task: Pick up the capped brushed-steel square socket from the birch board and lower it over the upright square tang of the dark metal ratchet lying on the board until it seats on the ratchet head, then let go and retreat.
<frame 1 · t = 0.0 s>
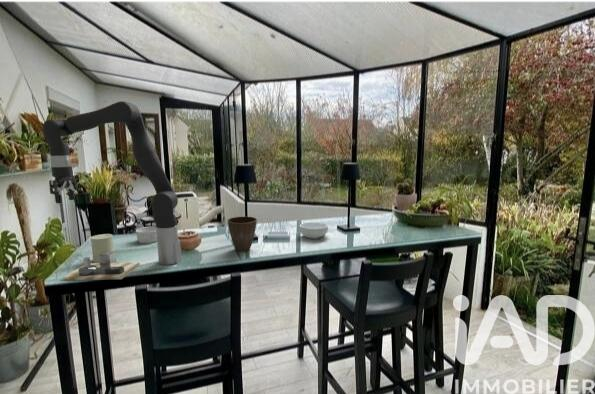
hand: (65, 201, 149), 29 cm above the table, fingers open, 8 cm apart
cereal bowl: (313, 237, 192), on the table
ratchet: (88, 273, 137), resting on board
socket: (108, 266, 145), point 1 cm above the table, touching board
ramekin: (149, 241, 188), on the table
board: (103, 272, 142), on the table
can: (104, 260, 157), on the table
plant pot: (243, 249, 170), on the table
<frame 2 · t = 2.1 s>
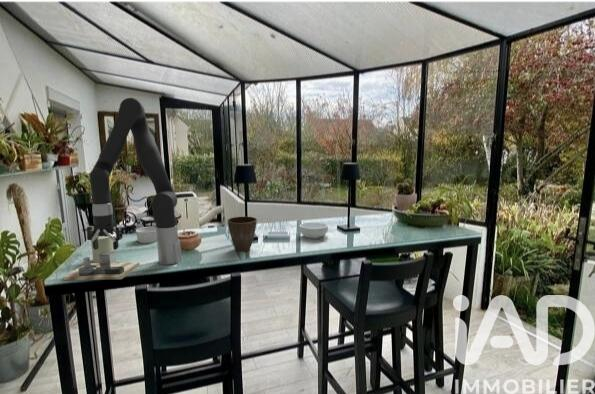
hand: (106, 249, 144), 9 cm above the table, fingers open, 8 cm apart
nothing on the table moved.
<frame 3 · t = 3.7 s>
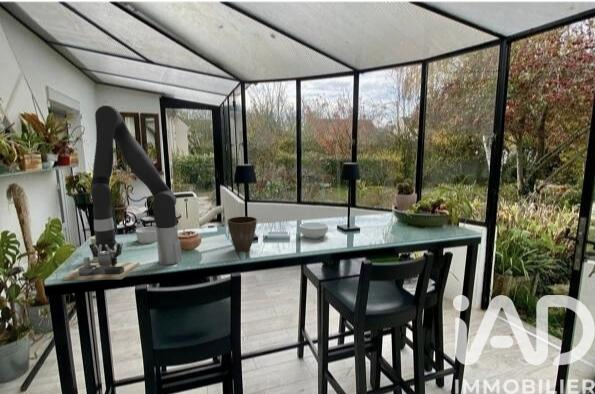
hand: (108, 265, 145), 2 cm above the table, fingers closed on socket, 4 cm apart
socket: (108, 266, 145), point 1 cm above the table, touching board, gripper
everything else where it was.
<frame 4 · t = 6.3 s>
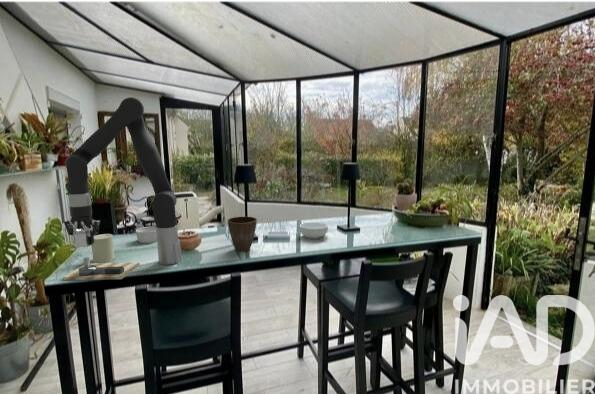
hand: (84, 244, 136), 14 cm above the table, fingers closed on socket, 4 cm apart
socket: (84, 245, 136), point 13 cm above the table, touching gripper
everything else where it was.
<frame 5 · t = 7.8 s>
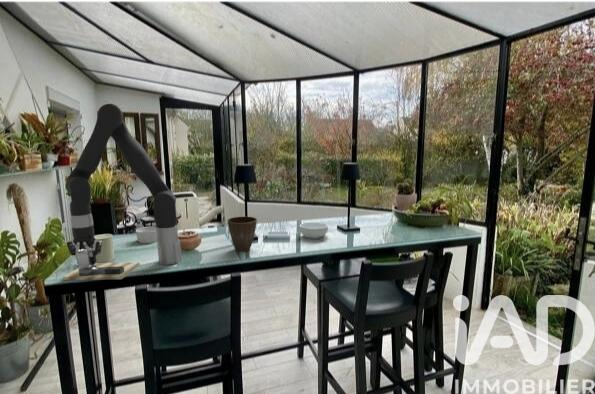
hand: (87, 264, 137), 5 cm above the table, fingers closed on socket, 4 cm apart
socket: (87, 265, 137), point 5 cm above the table, touching gripper
everything else where it was.
when the fingers open (5 cm above the table, at t = 8.8 s): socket stays where it is, resting on ratchet.
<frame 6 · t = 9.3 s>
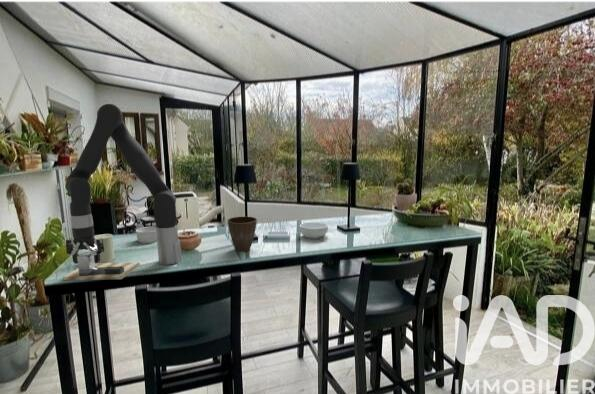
hand: (87, 263, 137), 6 cm above the table, fingers open, 8 cm apart
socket: (87, 267, 137), point 4 cm above the table, touching ratchet
everything else where it was.
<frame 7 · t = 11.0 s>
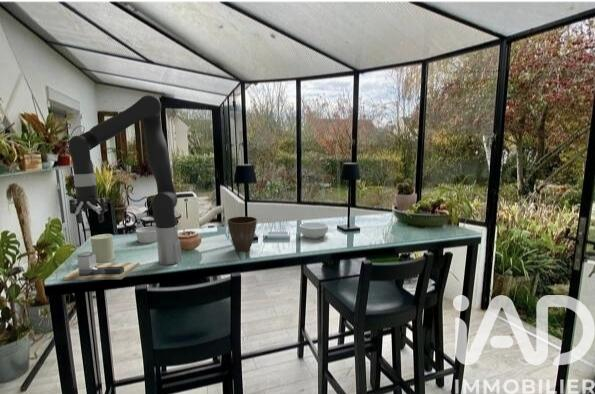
hand: (90, 222, 138), 22 cm above the table, fingers open, 8 cm apart
nothing on the table moved.
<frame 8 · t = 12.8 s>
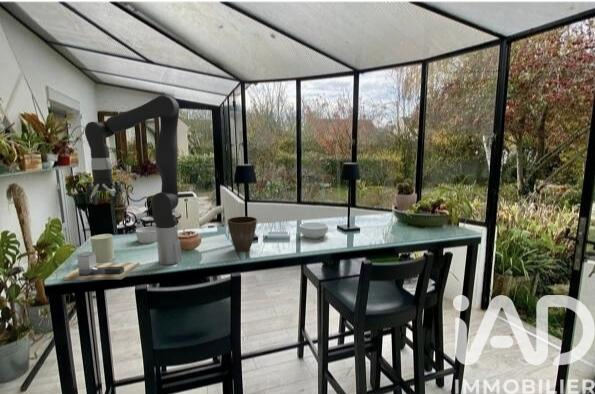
hand: (105, 204, 147), 28 cm above the table, fingers open, 8 cm apart
nothing on the table moved.
at the end: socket 0.1 cm off-centre on the ratchet, point 2.4 cm above the ratchet's base; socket tilted 0°; the gripper is holding nothing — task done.
